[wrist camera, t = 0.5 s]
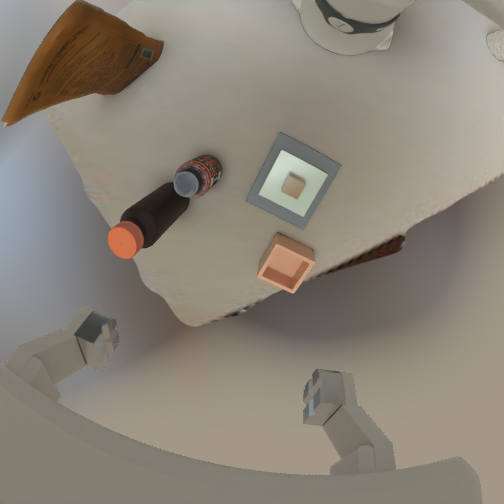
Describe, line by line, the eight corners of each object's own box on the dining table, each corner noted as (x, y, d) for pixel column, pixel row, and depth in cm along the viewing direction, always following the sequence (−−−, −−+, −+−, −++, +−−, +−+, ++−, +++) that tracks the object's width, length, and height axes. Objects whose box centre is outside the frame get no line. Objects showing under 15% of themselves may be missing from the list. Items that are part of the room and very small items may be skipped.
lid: (281, 149, 45) (281, 151, 41) (327, 173, 46) (330, 177, 42) (259, 192, 49) (256, 198, 46) (302, 215, 50) (304, 222, 46)
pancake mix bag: (180, 52, 38) (83, 10, 13) (107, 113, 44) (-4, 133, 20) (164, 30, 36) (67, -16, 11) (94, 91, 42) (-15, 100, 17)
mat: (280, 132, 44) (280, 132, 43) (340, 165, 45) (341, 165, 45) (246, 200, 50) (245, 201, 50) (303, 228, 52) (303, 229, 51)
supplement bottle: (228, 167, 48) (213, 182, 38) (209, 191, 50) (190, 212, 40) (203, 147, 47) (181, 157, 37) (185, 172, 49) (160, 188, 39)
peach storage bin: (277, 231, 53) (276, 243, 48) (313, 249, 54) (315, 262, 49) (259, 263, 56) (256, 277, 52) (293, 279, 57) (293, 293, 53)
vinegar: (189, 182, 50) (139, 221, 32) (190, 215, 53) (146, 267, 35) (157, 181, 50) (98, 219, 33) (159, 213, 54) (107, 262, 36)
